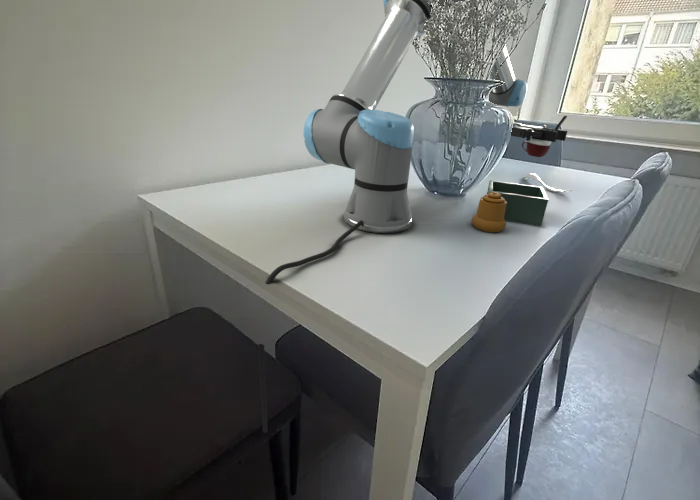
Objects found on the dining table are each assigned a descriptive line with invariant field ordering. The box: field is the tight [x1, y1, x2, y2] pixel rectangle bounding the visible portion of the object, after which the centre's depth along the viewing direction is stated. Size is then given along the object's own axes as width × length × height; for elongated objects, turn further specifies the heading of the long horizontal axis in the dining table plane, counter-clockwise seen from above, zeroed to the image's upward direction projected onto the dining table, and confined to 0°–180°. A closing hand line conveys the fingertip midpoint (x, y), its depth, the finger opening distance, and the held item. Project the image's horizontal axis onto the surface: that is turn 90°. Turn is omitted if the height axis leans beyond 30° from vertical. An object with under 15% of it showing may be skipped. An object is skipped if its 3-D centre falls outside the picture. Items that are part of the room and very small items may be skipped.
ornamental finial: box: [471, 192, 507, 234], centre depth 88 cm, size 8×8×8 cm
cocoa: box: [521, 115, 568, 158], centre depth 113 cm, size 10×6×12 cm, turn 23°
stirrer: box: [521, 173, 573, 193], centre depth 126 cm, size 20×4×5 cm
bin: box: [486, 179, 549, 227], centre depth 98 cm, size 12×13×7 cm
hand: (560, 136), depth 109 cm, fingers closed on cocoa, 6 cm apart
